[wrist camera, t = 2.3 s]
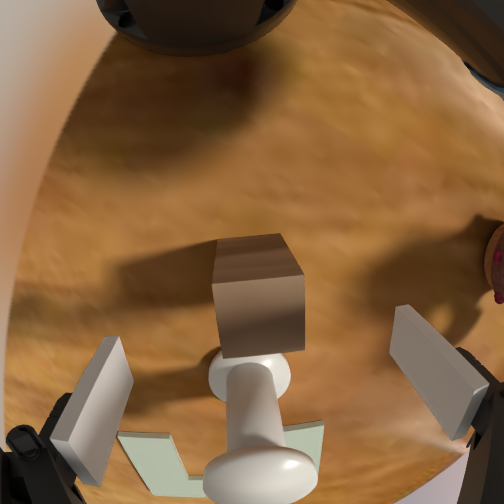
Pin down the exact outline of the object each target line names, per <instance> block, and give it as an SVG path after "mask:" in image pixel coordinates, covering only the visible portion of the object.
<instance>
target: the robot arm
mask: <svg viewBox="0 0 504 504" xmlns="http://www.w3.org/2000/svg"><path fill="white" fill-rule="evenodd" d="M96 1H97V4H98V6H99V9H100V11H101V12H102V14H103V16H104V17H105V19H106V20H107V21H108V22H109V24H110V25H111V26H112V27H113V28H114V29H116V31H117V32H119V33H120V34H121V35H122V36H123V37H124V38H125V39H127V40H128V41H130V42H131V43H133V44H135V45H137V46H139V47H141V48H143V49H146V50H149V51H152V52H156V53H160V54H165V55H172V56H203V55H211V54H216V53H221V52H225V51H229V50H233V49H236V48H239V47H241V46H244V45H246V44H249V43H251V42H253V41H255V40H257V39H259V38H261V37H262V36H264V35H266V34H267V33H269V32H270V31H271V30H273V29H274V28H275V27H277V26H278V25H279V24H280V23H281V22H282V21H283V20H284V19H285V18H286V17H287V15H288V14H289V13H290V12H291V10H292V9H293V7H294V5H295V4H296V2H297V0H96ZM387 1H388V2H390V3H391V4H393V5H394V6H396V7H397V8H399V9H400V10H402V11H403V12H405V13H406V14H407V15H409V16H410V17H412V18H413V19H414V20H416V21H417V22H418V23H420V24H421V25H422V26H424V27H425V28H426V29H427V30H429V31H430V32H431V33H432V34H434V35H435V36H436V37H437V38H439V39H440V40H441V41H442V42H443V43H444V44H446V45H447V46H448V47H449V48H450V49H451V50H453V51H454V52H455V53H456V54H457V55H458V56H459V57H460V58H461V59H462V61H463V63H464V64H465V66H466V67H467V68H468V69H469V70H470V72H471V74H472V75H473V76H474V77H475V78H476V80H478V81H479V82H480V83H481V84H482V85H484V86H485V87H486V88H488V89H489V90H491V91H493V92H494V93H496V94H498V95H499V96H500V97H501V98H502V99H503V100H504V0H387ZM389 354H390V355H391V356H392V358H393V359H394V360H395V362H396V363H397V365H398V366H399V367H400V369H401V370H402V371H403V373H404V374H405V375H406V377H407V378H408V380H409V381H410V382H411V384H412V385H413V387H414V388H415V389H416V391H417V392H418V394H419V395H420V396H421V398H422V399H423V401H424V402H425V404H426V405H427V406H428V408H429V409H430V411H431V412H432V414H433V415H434V416H435V418H436V419H437V421H438V422H439V424H440V425H441V427H442V428H443V430H444V431H445V433H446V434H447V436H448V437H449V438H450V440H451V441H453V440H455V439H458V438H460V437H462V436H464V435H466V433H467V431H468V430H469V428H470V426H471V425H472V426H473V427H474V429H475V431H474V433H473V435H472V436H471V438H470V440H469V442H468V444H467V446H466V447H467V448H468V447H469V445H470V444H471V447H470V452H469V457H468V462H467V467H466V471H465V475H464V479H463V483H462V487H461V491H460V495H459V498H458V502H457V504H504V382H502V383H500V382H499V381H498V380H497V379H496V378H495V377H494V376H493V375H492V374H491V373H490V372H489V371H488V370H487V369H486V368H485V367H484V366H483V365H481V363H480V362H479V361H478V360H476V358H475V357H474V356H473V355H472V354H471V353H470V352H468V351H466V350H464V349H463V348H461V347H458V348H454V347H453V346H452V345H451V344H450V343H449V342H448V341H447V340H446V339H445V338H444V337H443V336H442V335H441V334H440V333H439V332H438V331H437V330H436V329H435V328H434V327H432V326H431V325H430V324H429V323H428V322H427V321H426V320H425V319H424V318H423V317H422V316H421V315H420V314H419V313H418V312H417V311H416V310H414V309H413V308H412V307H411V306H410V305H409V304H407V305H402V306H397V307H396V308H395V316H394V324H393V331H392V337H391V344H390V350H389ZM133 383H134V379H133V377H132V374H131V371H130V368H129V365H128V362H127V359H126V356H125V353H124V350H123V347H122V344H121V341H120V337H119V336H105V337H104V339H103V340H102V342H101V344H100V346H99V347H98V349H97V351H96V352H95V354H94V356H93V358H92V359H91V361H90V363H89V365H88V366H87V368H86V370H85V372H84V374H83V375H82V377H81V379H80V381H79V383H78V384H77V386H76V388H75V390H74V392H73V393H65V394H64V395H63V396H62V397H60V398H59V399H58V400H57V402H56V404H55V406H54V407H53V410H52V411H51V413H50V415H49V417H48V418H47V420H46V422H45V424H44V426H43V428H42V430H41V431H40V433H39V435H38V434H37V433H36V431H35V430H34V428H33V427H31V426H29V425H19V426H16V427H15V428H13V429H12V430H11V431H10V432H9V433H8V435H7V437H6V444H7V445H8V446H9V448H10V449H11V450H12V452H4V451H3V450H2V449H1V448H0V504H87V503H86V502H85V500H84V498H83V496H82V494H81V493H80V491H79V489H78V487H77V486H76V485H75V483H74V482H75V479H76V476H77V477H78V478H79V479H80V480H81V482H82V483H83V484H87V485H92V486H98V487H101V484H102V481H103V477H104V474H105V470H106V467H107V463H108V460H109V457H110V453H111V450H112V447H113V444H114V440H115V437H116V434H117V431H118V428H119V425H120V422H121V419H122V416H123V413H124V410H125V407H126V404H127V401H128V398H129V395H130V392H131V389H132V386H133Z"/></svg>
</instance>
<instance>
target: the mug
mask: <svg viewBox="0 0 504 504" xmlns="http://www.w3.org/2000/svg"><path fill="white" fill-rule="evenodd" d="M484 269H485V276H486V279H487V282H488V283H489V285H490V286H491V287H492V288H493V290H494V292H495V295H494V297H495V302H496V303H497V304H502V303H504V223H503V224H502V225H501V226H500V227H499V228H497V229H496V230H495V231H494V233H493V235H492V237H491V238H490V240H489V243H488V246H487V248H486V254H485V261H484Z"/></svg>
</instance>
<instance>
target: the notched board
mask: <svg viewBox="0 0 504 504" xmlns="http://www.w3.org/2000/svg"><path fill="white" fill-rule="evenodd" d="M283 431H284V437H285V442H286V447H288V448H293V449H296V450H299V451H302V452H304V453H305V454H307V455H308V456H310V457H311V458H312V460H313V461H314V465H315V468H316V472H317V476H318V470H319V463H320V456H321V448H322V440H323V431H324V423H323V420H320V421H315V422H309V423H302V424H296V425H289V426H283ZM117 437H118V439H119V440H120V442H121V444H122V446H123V447H124V449H125V451H126V453H127V454H128V456H129V458H130V459H131V461H132V463H133V464H134V466H135V468H136V469H137V471H138V473H139V474H140V476H141V477H142V479H143V480H144V482H145V483H146V485H147V486H148V488H149V489H150V491H151V492H152V494H153V495H157V496H174V497H207V496H206V494H205V493H204V491H203V475H188V474H187V472H186V470H185V467H184V465H183V463H182V460H181V458H180V456H179V454H178V451H177V449H176V446H175V444H174V442H173V439H172V437H171V434H170V433H140V432H123V431H119V432H118V436H117ZM315 487H316V486H315Z"/></svg>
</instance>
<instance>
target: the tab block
mask: <svg viewBox="0 0 504 504" xmlns="http://www.w3.org/2000/svg"><path fill="white" fill-rule="evenodd" d="M212 290H213V297H214V304H215V311H216V318H217V325H218V331H219V338H220V344H221V351H222V357H223V359H229V358H240V357H251V356H261V355H270V354H278V353H286V352H294V351H302V350H305V280H304V273H303V271H302V270H301V268H300V266H299V265H298V263H297V261H296V259H295V258H294V256H293V254H292V253H291V251H290V249H289V248H288V246H287V244H286V242H285V241H284V239H283V237H282V236H281V234H280V233H279V234H268V235H257V236H246V237H235V238H225V239H217V247H216V254H215V262H214V269H213V277H212Z"/></svg>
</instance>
